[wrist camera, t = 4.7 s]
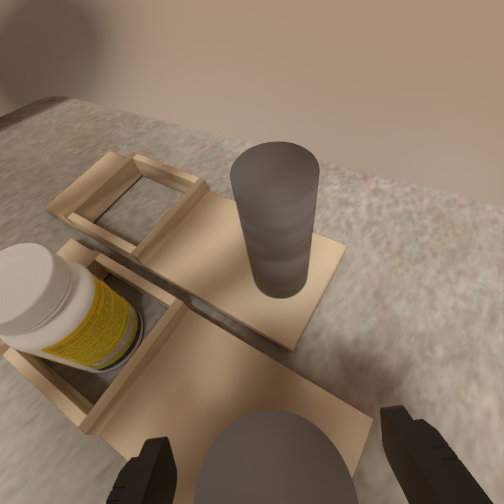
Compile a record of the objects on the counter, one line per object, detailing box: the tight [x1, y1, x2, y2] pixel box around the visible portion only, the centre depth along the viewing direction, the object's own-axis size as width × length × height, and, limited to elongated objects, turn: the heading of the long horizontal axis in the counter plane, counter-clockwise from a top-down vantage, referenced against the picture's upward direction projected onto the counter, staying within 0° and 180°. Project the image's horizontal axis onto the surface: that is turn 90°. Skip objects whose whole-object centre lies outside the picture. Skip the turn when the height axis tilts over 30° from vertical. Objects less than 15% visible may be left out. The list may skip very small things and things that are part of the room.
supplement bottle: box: [0, 243, 143, 373], centre depth 16 cm, size 5×5×8 cm
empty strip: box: [44, 142, 347, 353], centre depth 19 cm, size 24×8×10 cm, turn 58°
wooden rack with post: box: [0, 239, 374, 504], centre depth 14 cm, size 24×8×10 cm, turn 58°
